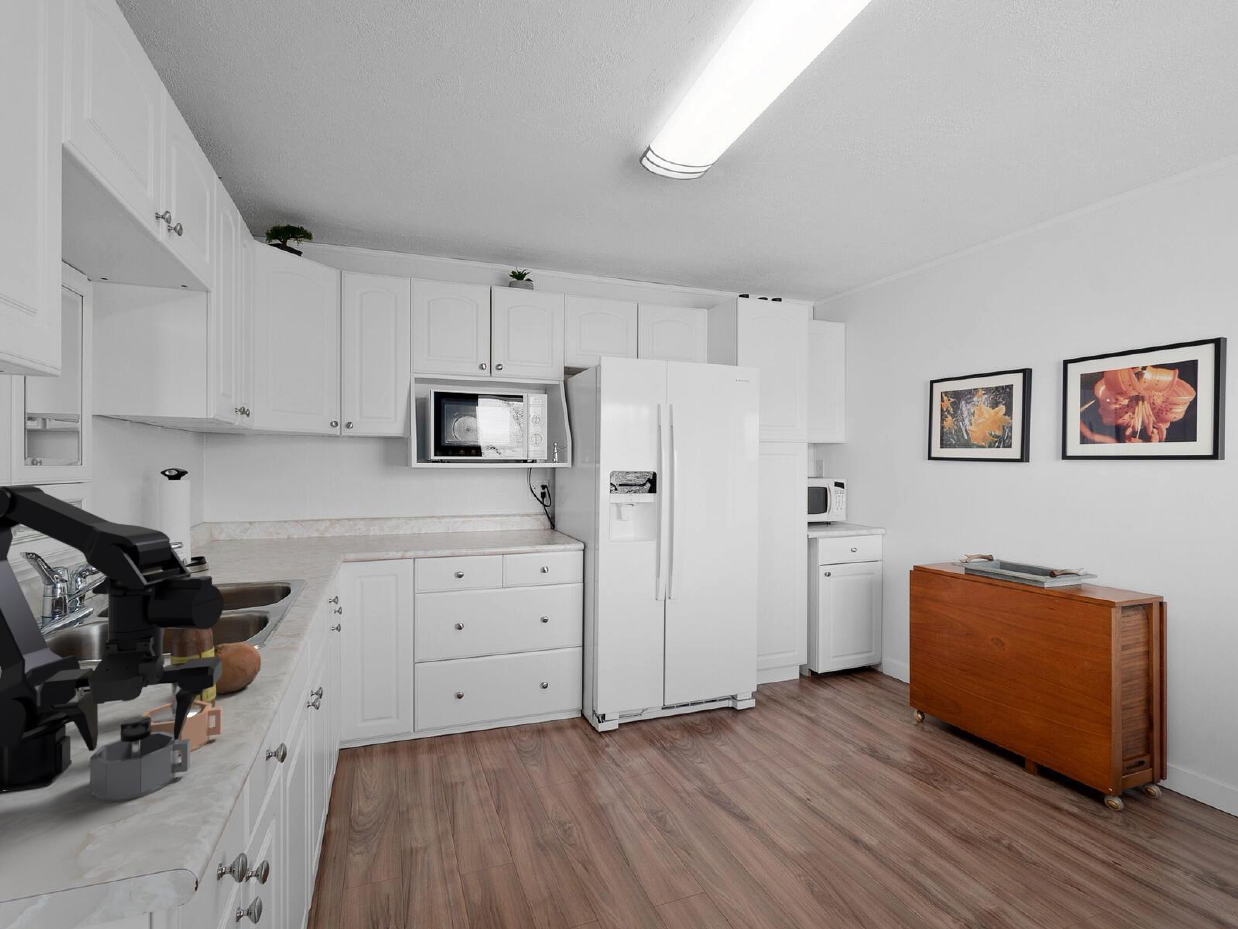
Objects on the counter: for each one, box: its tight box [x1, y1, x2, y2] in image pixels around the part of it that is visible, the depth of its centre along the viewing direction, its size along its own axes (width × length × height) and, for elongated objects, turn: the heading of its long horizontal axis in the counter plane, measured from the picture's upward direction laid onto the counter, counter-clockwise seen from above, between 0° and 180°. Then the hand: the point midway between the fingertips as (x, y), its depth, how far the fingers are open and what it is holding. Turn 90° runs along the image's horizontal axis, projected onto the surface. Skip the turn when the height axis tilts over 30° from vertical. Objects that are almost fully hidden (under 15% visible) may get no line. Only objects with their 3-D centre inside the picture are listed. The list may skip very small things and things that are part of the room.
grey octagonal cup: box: [89, 731, 191, 803], centre depth 83 cm, size 10×9×5 cm
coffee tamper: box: [120, 716, 151, 758], centre depth 83 cm, size 6×6×8 cm
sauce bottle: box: [169, 627, 217, 708], centre depth 107 cm, size 7×6×20 cm
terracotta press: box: [140, 700, 224, 757], centre depth 94 cm, size 10×9×5 cm
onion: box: [214, 641, 262, 694], centre depth 116 cm, size 10×9×10 cm
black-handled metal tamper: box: [150, 663, 201, 723], centre depth 94 cm, size 6×6×8 cm
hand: (135, 744), depth 83 cm, fingers open, 9 cm apart
